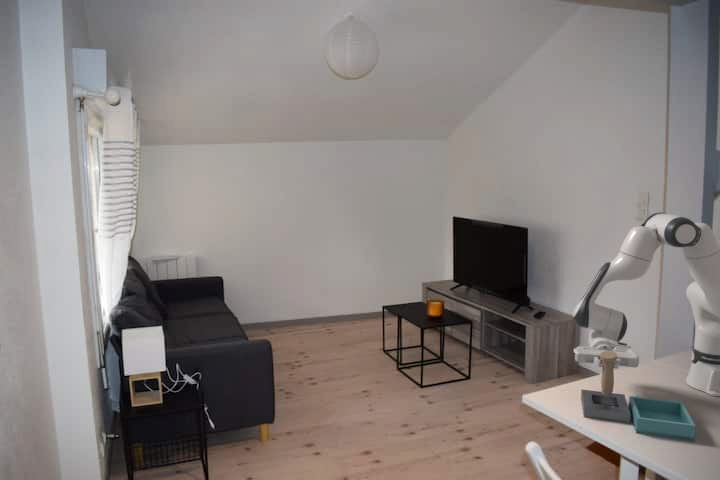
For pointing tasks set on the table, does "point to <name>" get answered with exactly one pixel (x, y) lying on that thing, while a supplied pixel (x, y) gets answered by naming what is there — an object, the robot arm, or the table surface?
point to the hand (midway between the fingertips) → (608, 365)
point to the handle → (607, 372)
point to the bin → (661, 418)
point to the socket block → (605, 412)
